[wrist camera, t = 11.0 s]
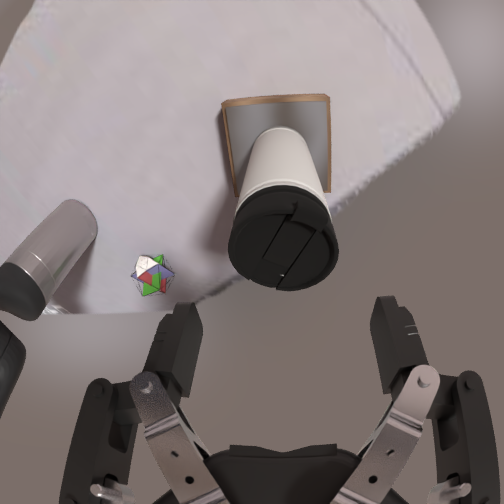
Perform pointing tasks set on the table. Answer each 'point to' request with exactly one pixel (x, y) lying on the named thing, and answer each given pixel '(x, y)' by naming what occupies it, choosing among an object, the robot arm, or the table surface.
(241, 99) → the square wooden framed mirror
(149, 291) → the geometric puzzle
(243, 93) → the table surface
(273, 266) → the travel mug
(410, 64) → the table surface
